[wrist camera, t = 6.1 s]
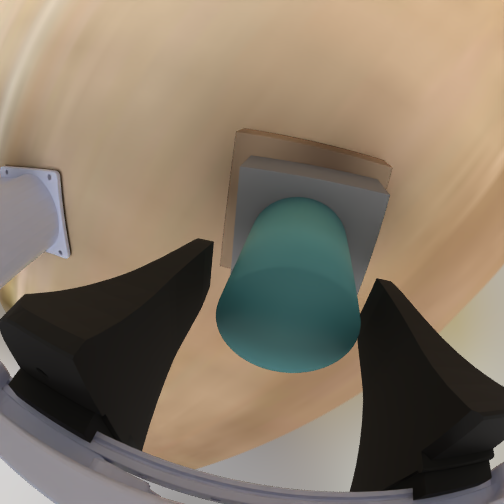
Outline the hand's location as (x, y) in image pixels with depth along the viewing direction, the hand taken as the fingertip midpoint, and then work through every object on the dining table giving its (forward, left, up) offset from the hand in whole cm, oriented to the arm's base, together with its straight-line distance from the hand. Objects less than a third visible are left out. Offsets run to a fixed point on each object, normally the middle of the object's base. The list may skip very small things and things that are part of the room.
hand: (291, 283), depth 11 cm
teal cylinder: (0, 0, -3) cm, 3 cm away
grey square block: (0, 0, -6) cm, 6 cm away
